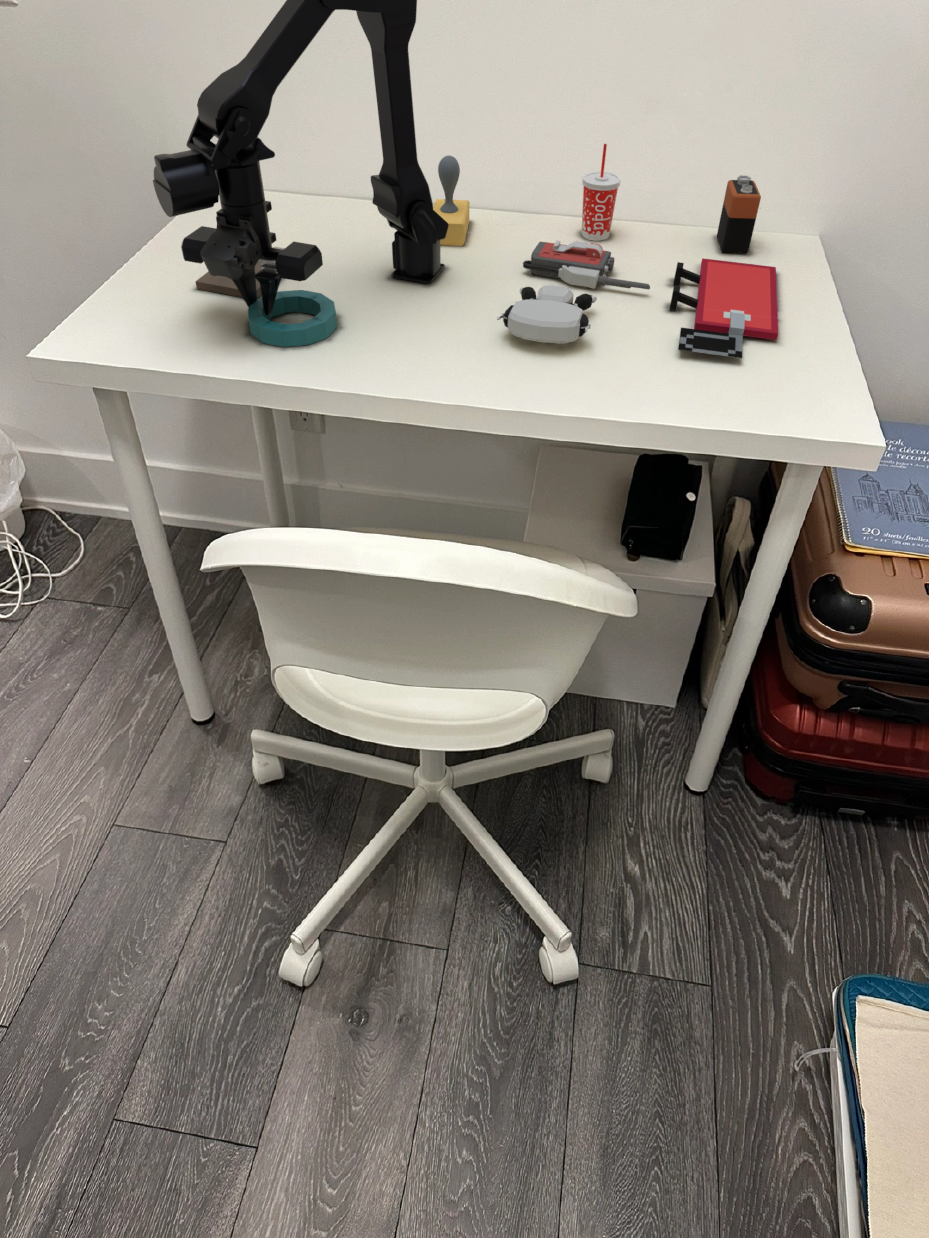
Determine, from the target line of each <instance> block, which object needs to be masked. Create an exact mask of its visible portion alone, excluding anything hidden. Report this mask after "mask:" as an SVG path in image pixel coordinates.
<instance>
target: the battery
mask: <svg viewBox="0 0 929 1238" xmlns="http://www.w3.org/2000/svg"><path fill="white" fill-rule="evenodd" d="M761 199H762V196H761V194H760V191H759V188H758V186H757V184H756V182H755V181H754V180H752V177H750V176H749V175H743V174H740V175H738V176H737V178H736V179H730V180H728V181H727V184H726V189H725V194H724V198H723V203H722V208H721V212H720V216H719V217H720V218H719V221H718V222H719V223H718V227H717V232H716V237H717V242H718V243H719V244H718V245H719V247H720V250H721V252H722V253H724V254H748V252H749V250H750V246H751V243H752V239H753V238H752V237H753V234H754V229H755V224H756V220H757V216H758V211H759V208H760V204H761Z"/></svg>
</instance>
